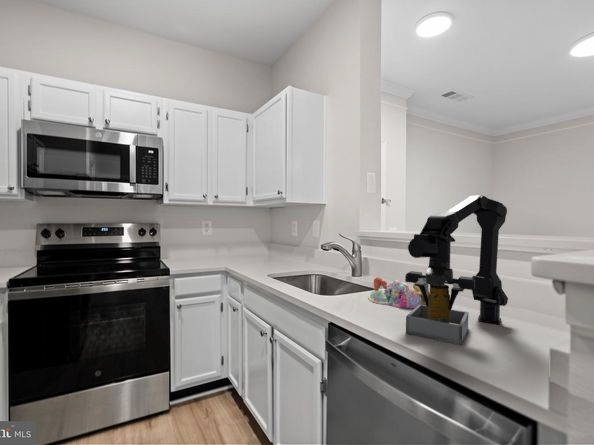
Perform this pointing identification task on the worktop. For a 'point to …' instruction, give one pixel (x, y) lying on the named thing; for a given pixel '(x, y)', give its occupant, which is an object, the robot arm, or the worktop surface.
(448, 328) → the bin
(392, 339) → the worktop surface
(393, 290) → the colourful coral reef
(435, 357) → the worktop surface
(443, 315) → the condiment
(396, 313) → the worktop surface
